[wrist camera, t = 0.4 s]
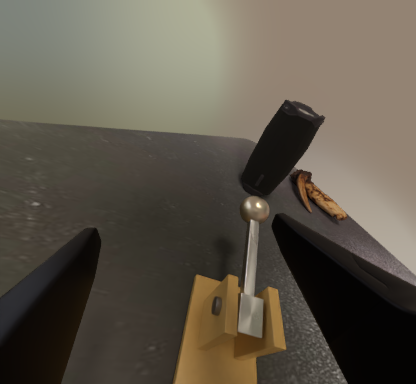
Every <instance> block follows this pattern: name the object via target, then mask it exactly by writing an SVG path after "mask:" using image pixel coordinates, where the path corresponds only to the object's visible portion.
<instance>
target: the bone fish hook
mask: <svg viewBox="0 0 416 384" xmlns="http://www.w3.org/2000/svg"><path fill="white" fill-rule="evenodd" d="M290 176H291V178H292V182H294V183H295V184H296V185H297V188H298V192H299V195H300V197H301V200H302V202H303V204H304V206H305V208H306V209H307V210H308V211H309V212H310V213H312V211H311V208H310V205H309V202H308V199H307V195H308V197H309V198H310V199H311V200H312V201H314V202H315V203H316V204H317V205H318V206H319V207H320V208H321V209H323V210H324V211H325V212H327V213H328V214H330V215H331V216H332V217H334V216H336V219H337V220H345V219H346V218H347V215H346V213H345V212H344V211H343V210H342V209H341V208H340V207H339V206H338V205H337V204H336V203H335V202H334V201H333V200H332V199H331V198H330V197H329V196H327V195H325V194H324V193H323V192H321V190H320V189H319V188H317V187H316V186H315V185H314V183H313V182H311V176H312V173H311V172H307V171H303V170H297V171H296V172H294V173H293V174H291V175H290Z"/></svg>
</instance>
